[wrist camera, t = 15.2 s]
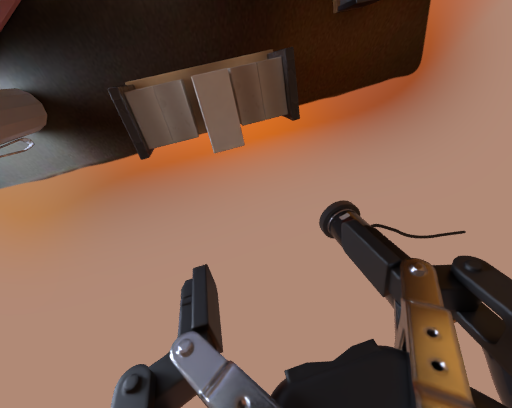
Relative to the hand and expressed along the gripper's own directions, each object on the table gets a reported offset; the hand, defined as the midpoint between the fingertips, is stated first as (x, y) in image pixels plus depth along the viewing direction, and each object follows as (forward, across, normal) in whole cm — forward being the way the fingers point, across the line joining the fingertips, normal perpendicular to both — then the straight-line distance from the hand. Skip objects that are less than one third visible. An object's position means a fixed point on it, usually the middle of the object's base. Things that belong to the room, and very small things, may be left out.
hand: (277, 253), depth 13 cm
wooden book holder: (+20, +1, -7) cm, 21 cm away
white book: (+19, +1, -7) cm, 20 cm away
